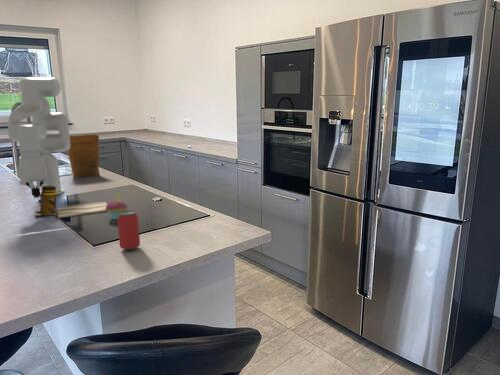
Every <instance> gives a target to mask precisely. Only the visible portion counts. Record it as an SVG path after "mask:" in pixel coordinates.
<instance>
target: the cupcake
mask: <svg viewBox="0 0 500 375" xmlns="http://www.w3.org/2000/svg"><path fill="white" fill-rule="evenodd" d="M116 199H117V200H116V201H112V202H109V203H108V204H107V206H106V211H107V212H106V213H109V216H110V218H111V219H112V220H117V221H118V216H119V213H120V212H122V211H126V210H127V209H128V206H127V204H126V203H125V202H123V201H121V200H120V191H118V192H117V198H116Z"/></svg>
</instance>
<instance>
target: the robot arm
mask: <svg viewBox="0 0 500 375" xmlns="http://www.w3.org/2000/svg"><path fill="white" fill-rule="evenodd" d="M19 86H20V88H21V97H20V99H21V100H20V101H21V102H20V105H18V106H17V107H16V108H14V110H13V111H11V113H10V114H9V117H8V120H7V121H8V123H7V133H8V137H9V139H10V140H11V141H13V142H18V145H19V154H20V157H19V158H18V173H19V184H20V185H21V186H27V187H28V188H30V189H31V196H33V198H34V199H36V198H37V199H39V198H40V196H41V193H42V187H43V186H54V187H56V196H57V195H61V194H63V193H65V189H63V188H62V187H61V179H60V171H59V162H58V159H57V157H56V156H55V155H54V154H53V153H55V152H56V153H57V152H59V153H60V152H68V150H69V149H70V136H71V135H70V129H69V123H68V117H67V115H66V113H64V112H60V111H56V112H55V111H54V112H53V111H51V105H50V102H49V100H48V99H47V98H56V97H58V96H59V94H60V93H61V83H60V81H59V79H58V78H57V77H36V76H35V77H34V76H33V77H31V76H30V77H23V78H21V79H20V81H19ZM30 117H32V123H20V122H21V121H23V120H25V119H28V118H30ZM48 132H58V133H48ZM34 182H36V186H35V185H34Z"/></svg>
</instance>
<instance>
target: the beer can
mask: <svg viewBox="0 0 500 375" xmlns="http://www.w3.org/2000/svg"><path fill="white" fill-rule="evenodd" d="M117 230H118V239H119V247H120V248H121V249H122V250H134V249H136V248H139V246H140V245H141V240H140V227H139V216H138V214H137V211H136V210H134V209H133V210H132V209H130V210H129V209H128V210H127V209H126V210H125V211H122V212H120V213H119V216H118V219H117Z"/></svg>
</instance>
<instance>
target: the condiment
mask: <svg viewBox="0 0 500 375" xmlns="http://www.w3.org/2000/svg"><path fill="white" fill-rule="evenodd" d="M39 204H40V209H39V210H34V211H33V212H34V215H35V216H58V212H57V211H56V210H57V195H56V187H54V186H43V187H42V193H41V195H40V203H39Z"/></svg>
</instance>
